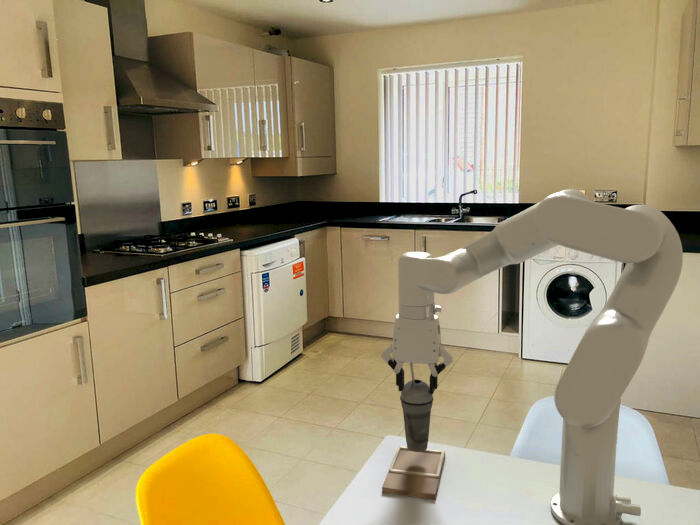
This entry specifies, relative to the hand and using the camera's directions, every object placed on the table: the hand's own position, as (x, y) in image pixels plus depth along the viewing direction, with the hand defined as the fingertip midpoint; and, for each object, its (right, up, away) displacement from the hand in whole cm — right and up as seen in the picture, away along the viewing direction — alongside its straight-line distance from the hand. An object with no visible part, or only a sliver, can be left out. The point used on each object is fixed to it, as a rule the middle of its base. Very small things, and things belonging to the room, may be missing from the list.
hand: (416, 389), depth 128 cm
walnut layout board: (0, -19, +1) cm, 19 cm away
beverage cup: (0, -14, +3) cm, 14 cm away
